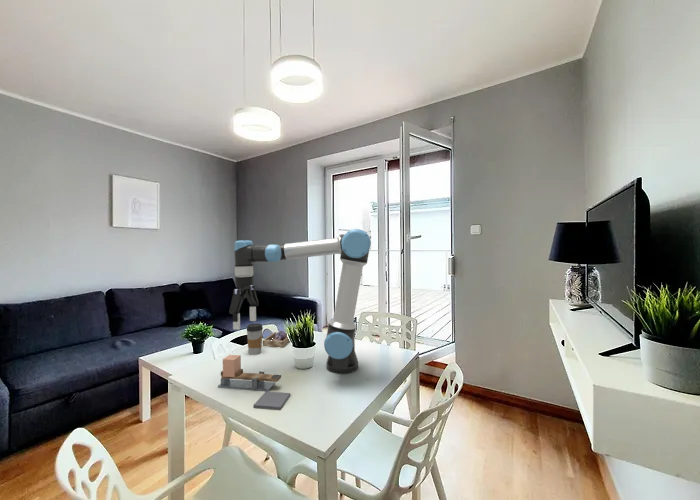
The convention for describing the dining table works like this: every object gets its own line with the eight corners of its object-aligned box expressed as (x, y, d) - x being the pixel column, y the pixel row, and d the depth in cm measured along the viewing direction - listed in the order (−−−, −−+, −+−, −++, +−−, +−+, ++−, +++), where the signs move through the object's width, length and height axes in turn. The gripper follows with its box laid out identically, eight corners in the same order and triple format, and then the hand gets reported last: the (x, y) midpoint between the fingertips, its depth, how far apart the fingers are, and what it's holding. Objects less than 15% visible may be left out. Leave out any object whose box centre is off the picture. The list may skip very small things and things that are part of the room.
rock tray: (293, 338, 182) (293, 333, 182) (283, 347, 166) (283, 341, 166) (274, 337, 184) (274, 332, 184) (262, 346, 168) (262, 340, 168)
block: (240, 371, 123) (240, 355, 123) (234, 377, 118) (234, 359, 118) (229, 371, 124) (229, 354, 124) (222, 376, 119) (222, 359, 119)
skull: (278, 347, 168) (278, 336, 168) (267, 345, 170) (266, 335, 170) (288, 340, 179) (288, 330, 179) (277, 339, 182) (277, 329, 181)
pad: (290, 395, 112) (290, 393, 112) (280, 410, 102) (280, 407, 102) (265, 393, 114) (265, 391, 114) (253, 407, 104) (253, 405, 104)
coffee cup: (258, 356, 153) (257, 327, 153) (243, 355, 155) (243, 326, 155) (265, 350, 161) (265, 323, 161) (251, 349, 163) (251, 322, 163)
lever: (281, 377, 121) (281, 370, 121) (276, 382, 116) (276, 376, 116) (227, 373, 124) (227, 367, 124) (219, 379, 119) (219, 372, 119)
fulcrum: (275, 383, 122) (275, 372, 122) (268, 392, 115) (268, 379, 115) (226, 380, 126) (226, 369, 125) (217, 388, 119) (216, 376, 119)
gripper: (250, 273, 140) (251, 317, 141) (218, 279, 116) (220, 332, 116) (265, 273, 139) (266, 318, 139) (236, 279, 115) (237, 333, 115)
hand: (245, 324), depth 128 cm, fingers open, 13 cm apart
